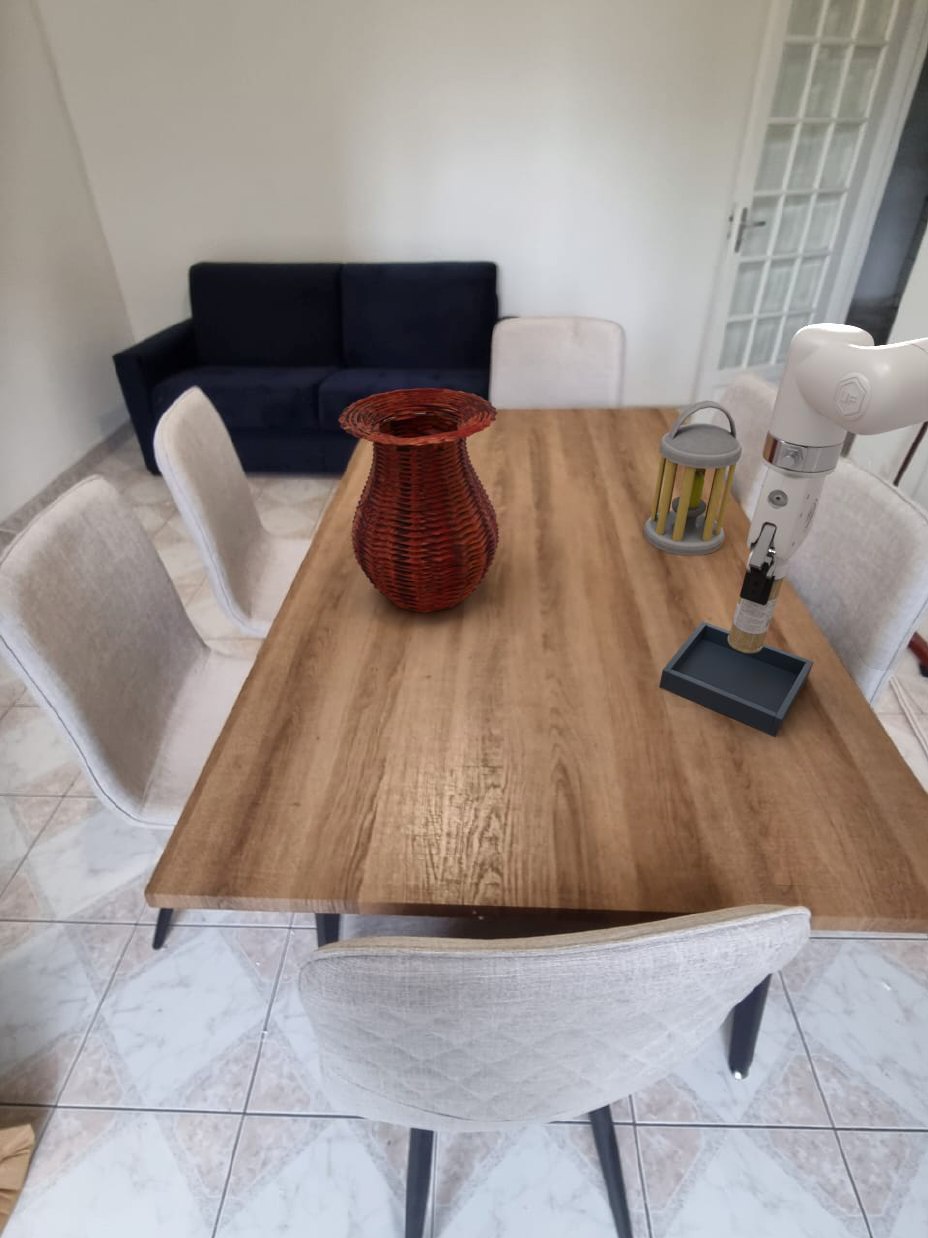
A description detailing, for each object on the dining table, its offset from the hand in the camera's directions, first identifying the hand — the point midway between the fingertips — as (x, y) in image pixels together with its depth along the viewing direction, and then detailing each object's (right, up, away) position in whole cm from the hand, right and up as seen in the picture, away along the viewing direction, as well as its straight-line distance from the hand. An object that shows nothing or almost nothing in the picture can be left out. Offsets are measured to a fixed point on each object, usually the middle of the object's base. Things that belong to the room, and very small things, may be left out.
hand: (761, 589), depth 83 cm
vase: (-43, +1, +30) cm, 52 cm away
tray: (0, -12, +9) cm, 16 cm away
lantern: (+4, +12, +42) cm, 44 cm away
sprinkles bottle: (0, -7, +5) cm, 9 cm away
